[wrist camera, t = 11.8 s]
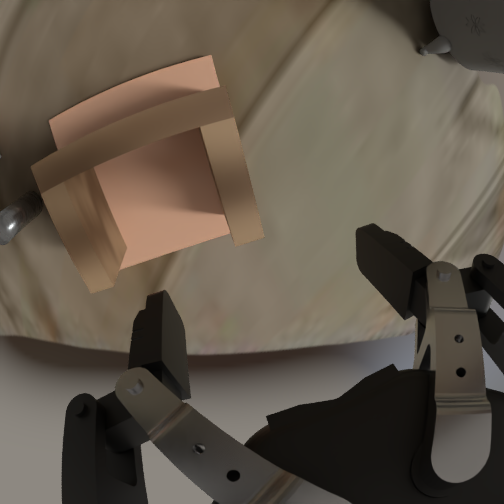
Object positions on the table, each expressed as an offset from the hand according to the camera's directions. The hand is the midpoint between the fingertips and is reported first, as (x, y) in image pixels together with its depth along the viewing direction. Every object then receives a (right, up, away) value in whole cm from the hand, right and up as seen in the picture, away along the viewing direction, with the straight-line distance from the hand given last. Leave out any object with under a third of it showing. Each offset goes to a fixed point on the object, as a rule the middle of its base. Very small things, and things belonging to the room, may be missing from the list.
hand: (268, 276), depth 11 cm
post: (-21, +5, +9) cm, 23 cm away
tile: (-9, +8, +10) cm, 16 cm away
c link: (-8, +7, +10) cm, 15 cm away
